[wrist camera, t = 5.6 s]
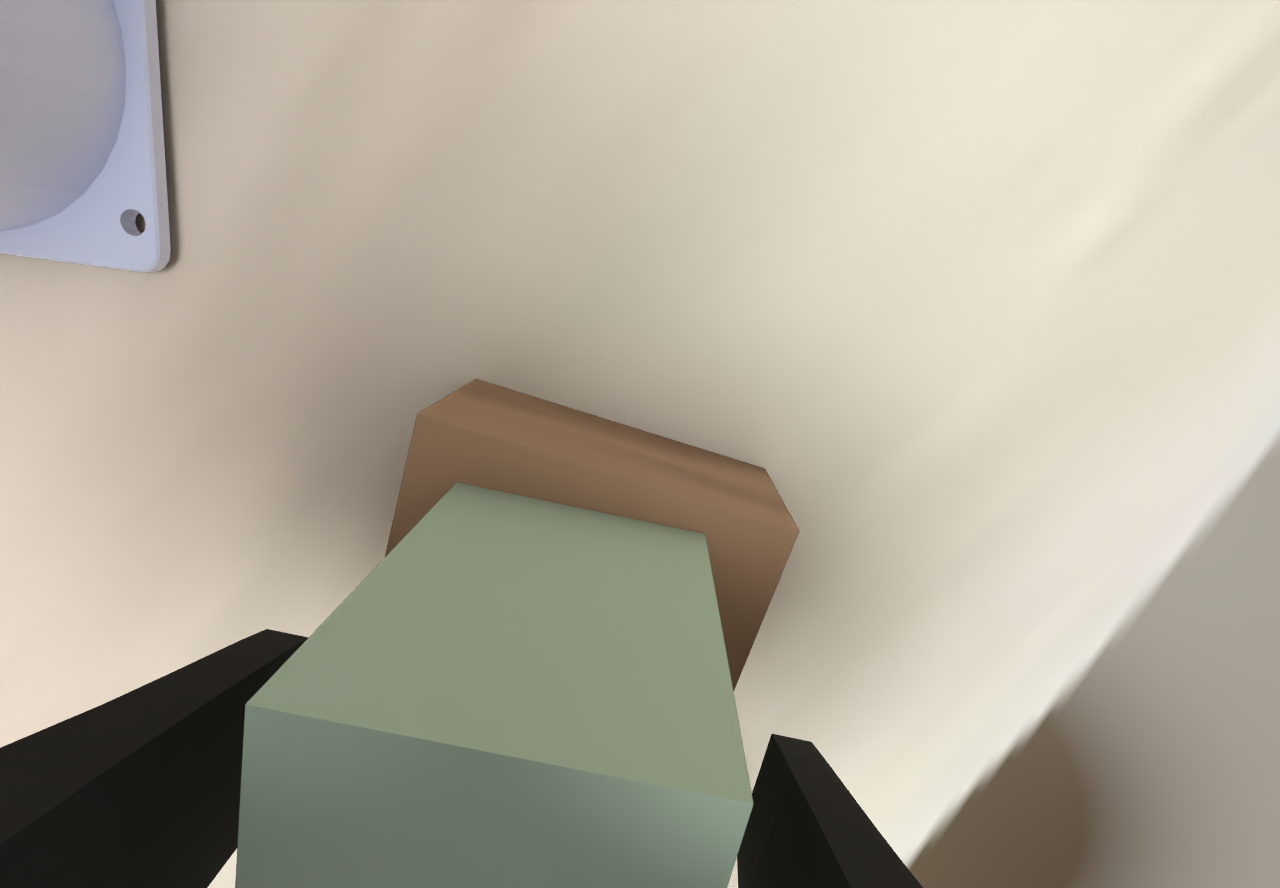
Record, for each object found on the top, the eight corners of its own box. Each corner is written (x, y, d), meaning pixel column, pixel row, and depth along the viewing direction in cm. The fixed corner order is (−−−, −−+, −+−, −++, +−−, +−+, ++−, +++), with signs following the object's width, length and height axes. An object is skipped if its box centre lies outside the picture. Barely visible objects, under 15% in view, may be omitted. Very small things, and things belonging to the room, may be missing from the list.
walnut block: (479, 376, 15) (417, 414, 11) (763, 465, 15) (799, 531, 11) (415, 631, 17) (343, 739, 13) (671, 704, 17) (675, 831, 13)
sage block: (456, 482, 11) (245, 704, 6) (704, 534, 11) (753, 803, 6) (426, 695, 12) (225, 1064, 7) (651, 740, 13) (646, 1139, 7)
